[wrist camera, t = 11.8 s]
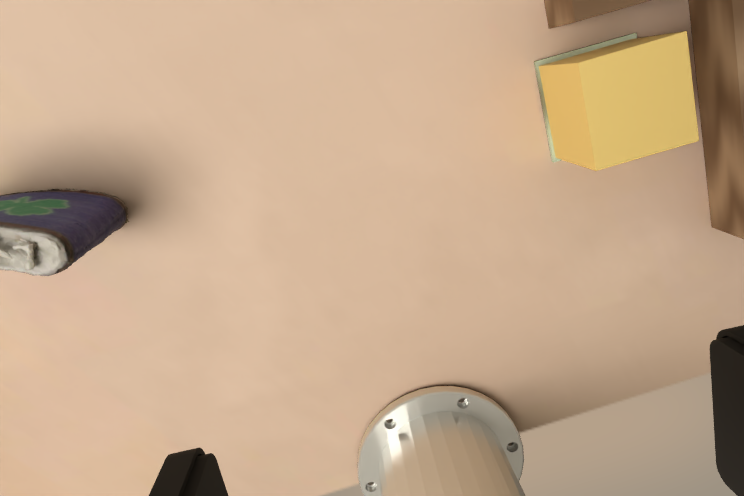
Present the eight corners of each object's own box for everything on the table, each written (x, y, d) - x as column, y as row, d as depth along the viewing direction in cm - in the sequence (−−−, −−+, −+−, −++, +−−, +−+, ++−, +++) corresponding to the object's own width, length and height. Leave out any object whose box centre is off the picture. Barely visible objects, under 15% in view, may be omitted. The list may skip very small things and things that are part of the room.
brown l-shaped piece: (739, 219, 40) (781, 233, 37) (570, 266, 41) (596, 286, 37) (715, -55, 35) (762, -71, 32) (523, 0, 35) (546, -10, 32)
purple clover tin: (-16, 234, 37) (-148, 291, 27) (-24, 189, 36) (-163, 230, 26) (131, 232, 38) (58, 288, 27) (127, 188, 37) (49, 228, 27)
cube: (629, 39, 36) (686, 31, 30) (642, 132, 38) (698, 140, 32) (538, 66, 36) (578, 63, 31) (555, 157, 38) (596, 170, 32)
